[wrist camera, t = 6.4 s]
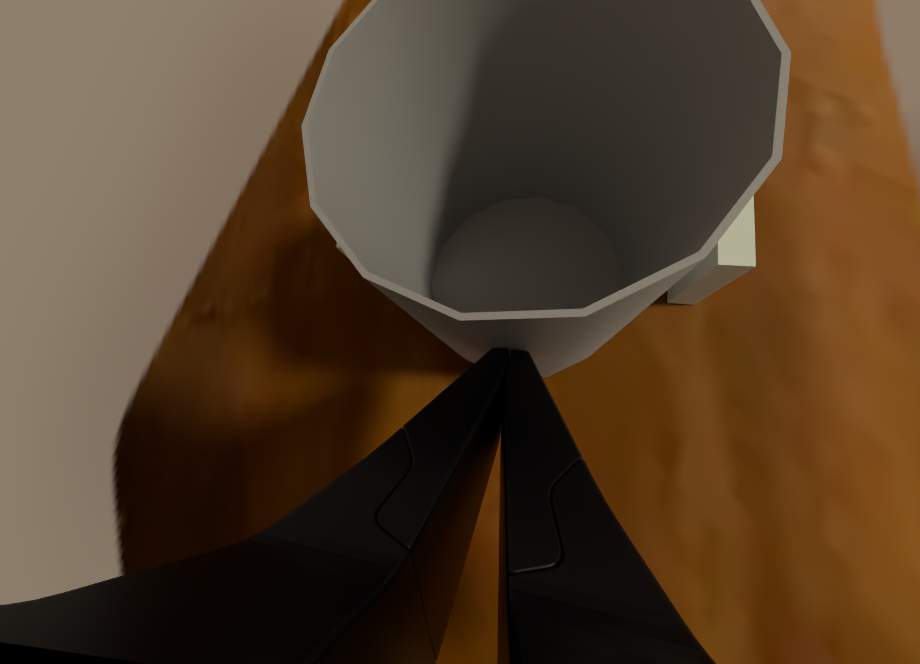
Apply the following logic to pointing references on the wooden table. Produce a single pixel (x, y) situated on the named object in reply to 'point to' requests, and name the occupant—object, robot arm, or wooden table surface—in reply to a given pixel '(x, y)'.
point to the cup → (541, 157)
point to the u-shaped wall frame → (716, 262)
